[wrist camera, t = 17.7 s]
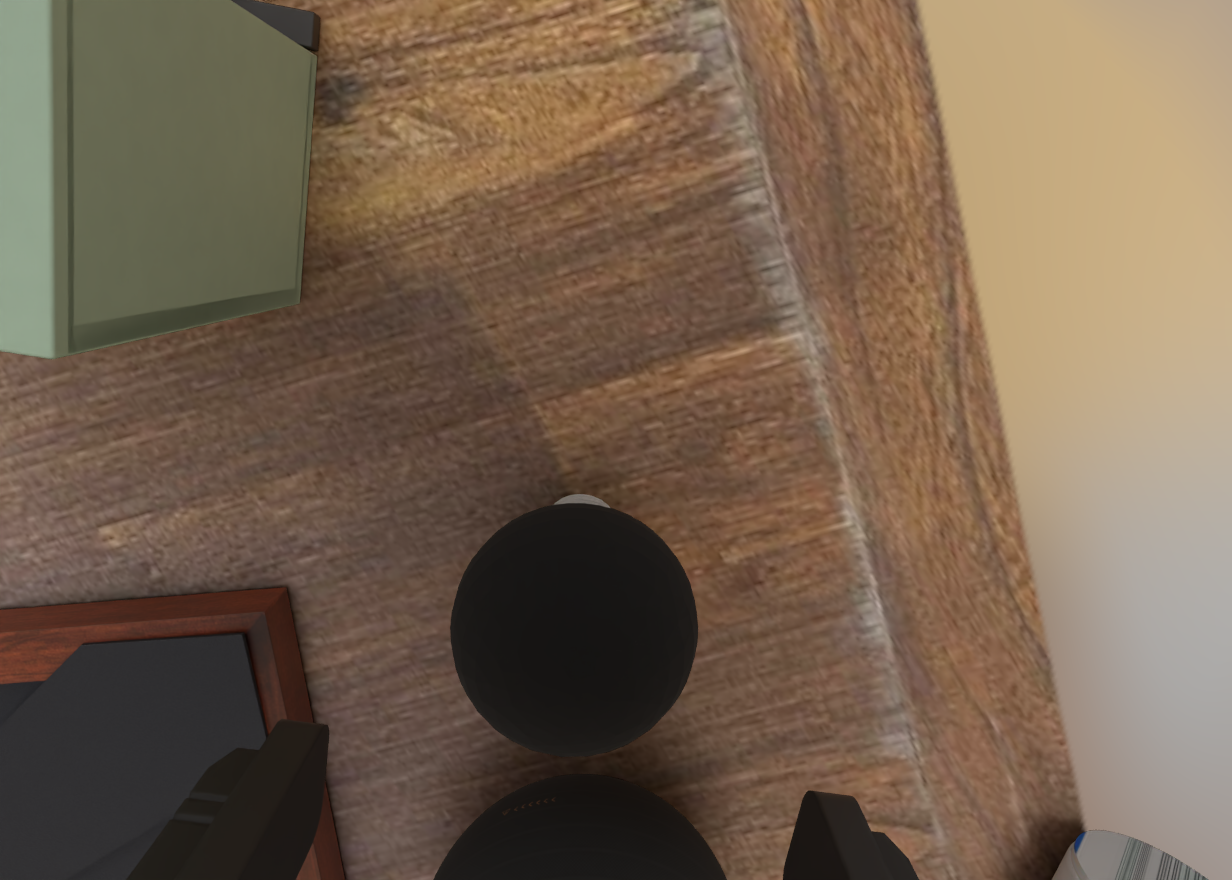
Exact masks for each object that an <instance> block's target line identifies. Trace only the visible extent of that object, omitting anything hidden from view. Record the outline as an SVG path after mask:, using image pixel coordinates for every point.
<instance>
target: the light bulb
mask: <svg viewBox="0 0 1232 880" xmlns="http://www.w3.org/2000/svg"><path fill="white" fill-rule="evenodd" d="M450 630H451V645H452V650H453V656H454V661H455V667H456V670H457V673H458V676H459V679H460V682H461V684H462V686H463V688H464V690H465V692H466V694H467V696H468V697H469V699H470V700H471V702H472V703H473V705H474V706H475V708H476V709H477V711H478V712H479V713H480V714H481V715H482V716H483V717H484V718H485V719H486V720H487V721H488V722H489V723H490V724H491V725H492V726H493V727H494V728H495V730H497V731H498V732H500V733H501V734H503V735H504V736H506V737H507V738H509V739H510V740H511V741H513V742H515V743H517V744H520V745H522V746H524V747H526V748H528V749H530V750H533V751H538V752H542V753H547V754H551V755H556V756H560V757H577V756H591V755H596V754H601V753H605V752H609V751H612V750H614V749H617V748H620V747H622V746H625V745H627V744H629V743H630V742H632V741H634V740H635V739H637V738H638V737H640V736H641V735H643V734H644V733H646V732H647V731H649V730H650V729H651V728H652V727H653V726H654V725H655V724H656V723H657V722H658V721H659V720H660V719H661V718H662V717H663V716H664V715H665V714H666V713H667V711H668V710H669V709H670V708H671V707H672V706H673V704H674V703H675V701H676V700H677V699H678V697H679V696H680V694H681V692H682V690H683V688H684V686H685V684H686V682H687V679H688V676H689V673H690V671H691V667H692V664H693V660H694V657H695V652H696V647H697V639H698V622H697V612H696V606H695V600H694V596H693V593H692V589H691V585H690V582H689V580H688V578H687V576H686V573H685V571H684V569H683V567H682V566H681V564H680V562H679V560H678V559H677V557H676V556H675V555H674V554H673V552H672V551H671V550H670V548H669V547H668V546H667V545H666V543H665V542H664V541H663V540H662V539H661V538H660V537H659V536H658V535H657V534H656V533H655V532H654V531H653V530H651V529H650V528H649V527H647V526H646V525H645V524H643V523H642V522H640V521H639V520H637V519H635V518H633V517H631V516H630V515H628V514H625V513H623V512H620V511H618V510H615V509H612V508H610V507H609V505H608V504H606V503H605V502H604V501H602V500H601V499H599V498H596V497H594V496H591V495H585V494H575V495H569V496H567V497H564V498H561V499H560V500H558V501H557V502H556V503H555V504H553V505H551V506H547V507H543V508H539V509H537V510H534V511H531V512H529V513H526V514H523V515H522V516H520V517H518V518H516V519H514V520H512V521H511V522H509V523H508V524H507V525H505V526H504V527H502V528H501V529H500V530H498V531H497V532H496V533H495V534H494V535H493V536H492V537H491V538H490V539H489V540H488V541H487V542H486V543H485V544H484V545H483V546H482V548H481V549H480V550H479V551H478V553H477V554H476V555H475V556H474V558H473V559H472V560H471V562H470V564H469V565H468V567H467V569H466V571H465V572H464V575H463V577H462V579H461V582H460V584H459V587H458V591H457V594H456V598H455V602H454V606H453V610H452V616H451V626H450Z"/></svg>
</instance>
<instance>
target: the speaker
mask: <svg viewBox="0 0 1232 880" xmlns="http://www.w3.org/2000/svg"><path fill="white" fill-rule="evenodd" d="M434 880H727V879H726V877H725V874H724V872H723V870H722V868H721V866H720V864H719V862H718V861H717V859H716V857H715V855H714V854H713V852H712V850H711V849H710V847H709V846H708V844H707V843H706V842H705V840H704V839H703V837H702V836H701V835H700V834H699V832H698V831H697V830H696V829H695V828H694V826H693V825H692V824H691V823H690V822H689V821H688V820H687V819H686V818H685V817H684V816H683V815H682V814H681V813H680V812H678V811H677V810H676V809H675V808H674V807H672V806H671V805H670V804H669V803H667V802H666V801H664V800H663V799H662V798H660V797H658V796H657V795H655V794H653V793H652V792H650V791H648V790H646V789H644V788H642V787H640V786H638V785H635V784H633V783H630V782H627V781H624V780H621V779H617V778H613V777H608V776H602V775H593V774H572V775H563V776H557V777H552V778H548V779H544V780H541V781H538V782H535V783H532V784H529V785H527V786H525V787H522V788H520V789H518V790H516V791H514V792H512V793H511V794H509V795H507V796H506V797H504V798H502V799H501V800H499V801H498V802H497V803H495V804H494V805H492V806H491V807H490V808H489V809H487V810H486V811H485V812H484V813H483V814H481V815H480V816H479V817H478V818H477V819H476V820H475V821H474V822H473V823H472V824H471V825H470V826H469V827H468V828H467V829H466V831H465V832H464V833H463V834H462V835H461V836H460V838H459V839H458V840H457V842H456V843H455V844H454V846H453V847H452V848H451V850H450V851H449V853H448V854H447V856H446V857H445V859H444V861H443V862H442V864H441V866H440V868H439V870H438V871H437V873H436V875H435V877H434Z"/></svg>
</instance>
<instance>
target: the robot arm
mask: <svg viewBox="0 0 1232 880" xmlns="http://www.w3.org/2000/svg"><path fill="white" fill-rule="evenodd" d="M328 743H329V727H328V725H324V724H317V723H309V722H302V721H294V720H287V719H281V720H279V721H278V722H277V724H276V725H275V727H274V728H273V730H272V731H271V733H270V734H269V736H268V737H267V739H266V740H265V742H264V743H263V745H262V746H261V748H260V749H259V750H254V749H246V748H236V749H235V750H233V751H232V752H230V753H229V754H227V755H226V756H224V757H223V758H222V759H220V760H219V761H217V762H216V763H214V764H213V765H211V766H210V767H208V769H207V770H206V771H205V773H204V774H203V775H202V777H201V778H200V780H199V781H198V782H197V784H196V785H195V786H194V788H193V789H192V790H191V792H190V794H189V797H188V798H186V799H185V800H184V801H183V803H182V804H181V805H180V807H179V808H178V810H177V811H176V812H175V814H174V817H173V819H172V820H169V822H168V823H167V825H166V826H165V827H164V829H163V830H162V831H161V833H160V834H159V836H158V837H157V838H156V840H155V841H154V842H153V844H152V845H151V846H150V848H149V849H148V851H147V852H146V853H145V855H144V856H143V857H142V859H141V860H140V861H139V863H138V864H137V866H136V867H135V868H134V870H133V871H132V872H131V874H130V875H129V876H128V878H127V879H126V880H296V878H297V876H298V874H299V872H300V870H301V867H302V865H303V863H304V861H305V859H306V857H307V855H308V852H309V850H310V848H311V846H312V843H313V841H314V838H315V835H316V832H317V828H318V824H319V821H320V816H321V811H322V805H323V795H324V785H325V774H326V764H327V753H328ZM783 880H919V879H918V877H917V875H916V873H915V871H914V869H913V867H912V865H911V863H910V861H909V859H908V858H907V857H906V856H905V855H904V854H903V853H902V852H901V850H900V849H899V848H898V847H897V846H896V845H895V844H894V843H893V842H892V841H891V840H890V839H889V838H888V837H887V836H886V835H885V833H880V832H873V831H871V830H870V828H869V826H868V824H867V821H866V819H865V817H864V815H863V813H862V811H861V809H860V806H859V804H858V802H857V801H856V799H855V798H854V797H852V796H847V795H840V794H832V793H825V792H817V791H808V792H806V794H805V795H804V798H803V800H802V803H801V807H800V811H799V814H798V818H797V822H796V825H795V829H794V833H793V836H792V840H791V844H790V847H789V851H788V854H787V858H786V862H785V866H784V874H783Z"/></svg>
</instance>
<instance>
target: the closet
mask: <svg viewBox="0 0 1232 880" xmlns="http://www.w3.org/2000/svg"><path fill="white" fill-rule="evenodd" d="M319 28H320V17H319V16H318V15H317V14H315V13H314V12H310V11H305V10H300V9H295V8H290V7H285V6H280V5H275V4H269V3H264V2H259V1H254V0H0V351H3V352H9V353H15V354H21V355H28V356H34V357H40V358H46V359H56V358H60V357H65V356H70V355H74V354H79V353H83V352H88V351H92V350H97V349H101V348H106V347H110V346H114V345H119V344H123V343H128V342H132V341H137V340H141V339H146V338H150V337H154V336H159V335H163V334H168V333H172V332H177V331H181V330H186V329H190V328H194V327H199V326H203V325H208V324H212V323H217V322H221V321H226V320H230V319H234V318H239V317H243V316H248V315H252V314H257V313H261V312H266V311H270V310H274V309H279V308H283V307H288V306H292V305H296V304H299V303H300V294H301V280H302V266H303V251H304V237H305V223H306V209H307V194H308V180H309V166H310V152H311V137H312V123H313V109H314V95H315V81H316V66H317V56H316V55H314V54H313V53H311V52H310V51H308V50H312V51H318V42H319Z"/></svg>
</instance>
